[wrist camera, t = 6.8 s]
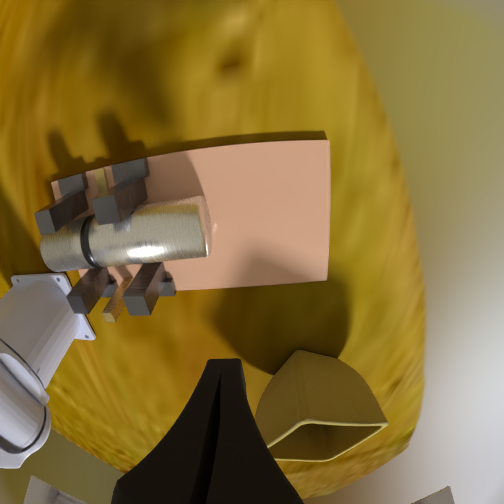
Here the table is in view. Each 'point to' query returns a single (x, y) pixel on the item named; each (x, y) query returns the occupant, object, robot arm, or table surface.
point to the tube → (132, 237)
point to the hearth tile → (244, 211)
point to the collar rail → (107, 212)
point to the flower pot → (316, 409)
